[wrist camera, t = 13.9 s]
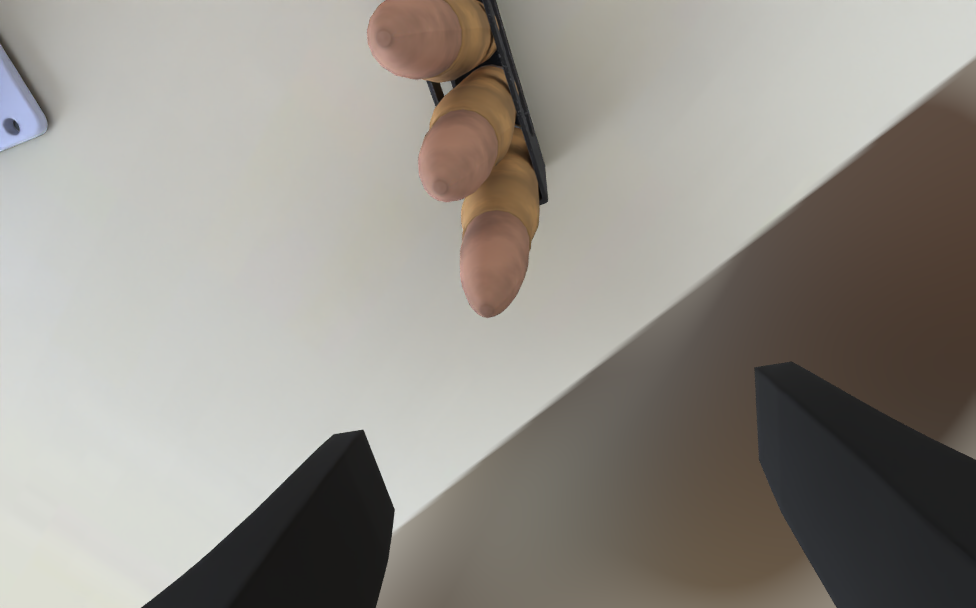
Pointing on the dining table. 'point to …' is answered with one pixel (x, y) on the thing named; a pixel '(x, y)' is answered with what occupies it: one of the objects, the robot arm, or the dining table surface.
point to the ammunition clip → (471, 134)
